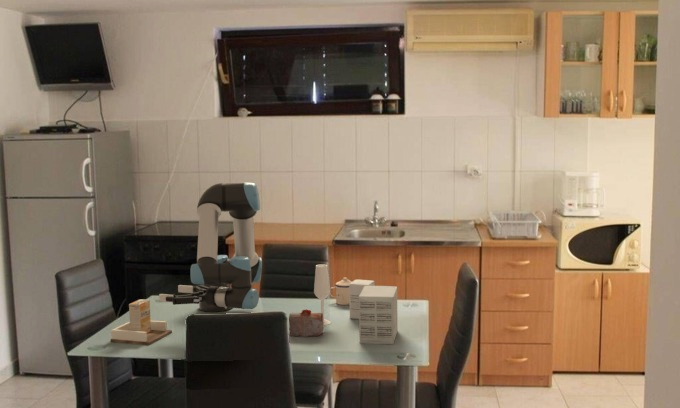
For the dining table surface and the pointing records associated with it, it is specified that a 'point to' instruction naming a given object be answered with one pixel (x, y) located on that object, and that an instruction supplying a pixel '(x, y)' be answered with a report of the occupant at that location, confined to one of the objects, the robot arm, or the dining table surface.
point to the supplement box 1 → (140, 316)
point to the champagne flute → (322, 286)
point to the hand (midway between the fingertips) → (169, 293)
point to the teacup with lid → (342, 291)
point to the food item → (306, 324)
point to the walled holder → (140, 333)
